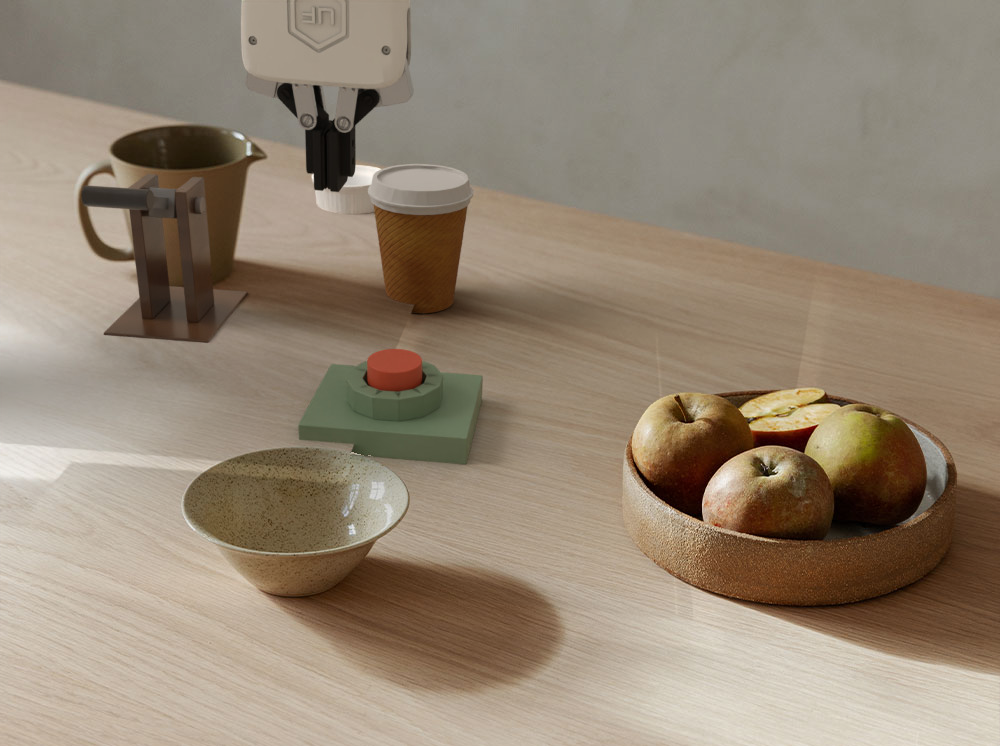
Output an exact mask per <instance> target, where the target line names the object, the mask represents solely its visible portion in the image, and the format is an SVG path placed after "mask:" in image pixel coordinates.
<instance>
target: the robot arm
mask: <svg viewBox="0 0 1000 746" xmlns="http://www.w3.org/2000/svg"><path fill="white" fill-rule="evenodd" d="M240 5H241V8H240V48H241V59H242V64H243V67H244V69H245V70H246V72H247V73H246V78H245V86H246V88H247V89H248V90H250V91H251V92H253V93H257V94H259V95H263V96H266V97H270V98H272V99H277V100H279V101H280V102H281V103H282V104H283V105H284V106H285V107H286V108H287V110H289V111H290V112H291V114H293V116H294V117H295V118H296V119H297V122H298V125H299V126H300V127H301V128H302V129H303V130H305V131H304V137H305V142H304V143H305V170H306V174H309V175H310V174H311V175H312V174H314V184H313V189H314V191H315V190H319V191H323V190H324V189H326V188H328V189H330V191H331V192H339V191H340V190H341V188H342V187H343V186H344V184H345V183H346V182H347V179H348V177H353V175H354V173H355V166H356V165H357V164H356V161H357V159H356V157H357V156H356V149H357V147H356V144H357V143H356V126H357V125H358V124H359V122H361V121H362V120H363V119H364V118H365V117H366V116H367V115H368V114H370V113H371V112H372V111H374V109H375V108H380V107H387V106H395V105H399V104H404V103H407V102H408V101H410V99H411V98H412V97H413V95H414V86H413V81H412V77H411V71H410V68H409V66H410V64H411V58H412V40H413V39H412V38H413V37H412V12H411V11H412V10H411V0H241V4H240ZM323 87H335V88H338V95H337V101H336V109H335V115H334V116H335V117H334V118H333V119H330V114H329V113H328V112H327V107H326V106H327V105H326V99H325V94H324V88H323Z"/></svg>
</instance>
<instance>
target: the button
mask: <svg viewBox="0 0 1000 746" xmlns="http://www.w3.org/2000/svg"><path fill="white" fill-rule="evenodd" d="M366 361H367V381H368V384H369V386H370V387H373V388H375V389H378V390H383V391H396V392H399V391H405V390H411V389H414V388H416V387H418V386H420V385H421V383H422V361H423V358H422V357H421V355H420V354H418V353H416V352H415V351H412V350H409V349H405V348H404V349H403V348H386V349H381V350H378V351H375V352H373V353H372V354H370V355H368V358H367V360H366Z"/></svg>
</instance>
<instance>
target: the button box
mask: <svg viewBox="0 0 1000 746" xmlns="http://www.w3.org/2000/svg"><path fill="white" fill-rule="evenodd" d="M483 380H484V376H483V375H480V374H469V373H456V372H443V371H440V370H439V369H438V367H437V366H436V365H435V364H432V363H429V362H427V361H424V360H422V383H421V385H420V386H418V387H416V388H414V389H411V390H405V391H399V392H396V391H383V390H378V389H375V388H373V387H370V386H369V384H368V381H367V360H365V361H363V362H361V363H359V364H357V365H351V364H340V363H339V364H338V363H331V364H330V365H329V367H328V369H327V371H326V373H325V375H324V377H323V378H322V379H321V382H320V384H319V386H318V388H317V389H316V391H315V393H314V395H313V397H312V398H311V400H310V402H309V404H308V406H307V408H306V410H305V411H304V414H303V415H302V417H301V418H300V421H299V423H298V424H297V425H298V427H297V428H298V440H300V441H311V442H323V443H335V444H347V445H348V444H349V445H353V446H352V448H351V451H350V453H351V452H354V453H357V454H361V455H364V456H363V457H370V456H368V455H371V456H373V457H372V458H381V459H382V458H383V459H395V460H408V461H421V462H431V463H432V462H433V463H442V464H443V463H444V464H455V465H456V464H457V465H467V464H468V460H469V455H470V452H471V447H472V442H473V438H474V435H475V429H476V427H477V422H478V417H479V414H480V409H481V406H482V402H483V384H484V383H483V382H484V381H483ZM370 458H371V457H370Z"/></svg>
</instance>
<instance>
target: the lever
mask: <svg viewBox="0 0 1000 746" xmlns="http://www.w3.org/2000/svg"><path fill="white" fill-rule="evenodd" d="M177 189H178V188H162V187H159V188H149V190H148V189H133V188H129V187H119V186H118V187H117V186H102V185H101V186H100V185H89V184H88V185H84V186H83V187H82V190H81V196H80V197H81V201H82V202H81V203H82V205H83V206H84V207H87V208H88V207H91V208H104V209H121V210H129V209H132V210H147V211H149V217H160V218H162V219H176V220H177V213H176V203H175V191H176V190H177Z"/></svg>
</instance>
